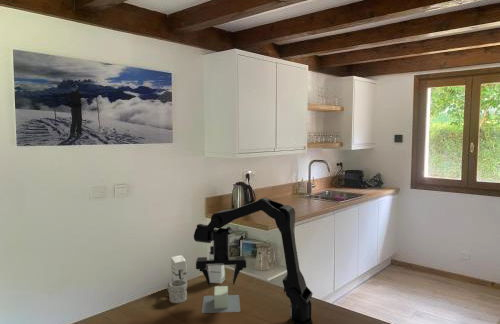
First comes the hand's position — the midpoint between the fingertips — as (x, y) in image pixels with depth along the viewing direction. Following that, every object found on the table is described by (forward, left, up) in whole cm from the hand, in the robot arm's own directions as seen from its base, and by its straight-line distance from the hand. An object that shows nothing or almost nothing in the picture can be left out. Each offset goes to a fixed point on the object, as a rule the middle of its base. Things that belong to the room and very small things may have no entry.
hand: (221, 284), depth 138 cm
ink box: (+18, -18, -8) cm, 27 cm away
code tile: (0, 0, -8) cm, 8 cm away
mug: (+18, -6, -8) cm, 21 cm away
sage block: (0, 0, -7) cm, 7 cm away
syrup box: (+2, -22, -8) cm, 23 cm away
